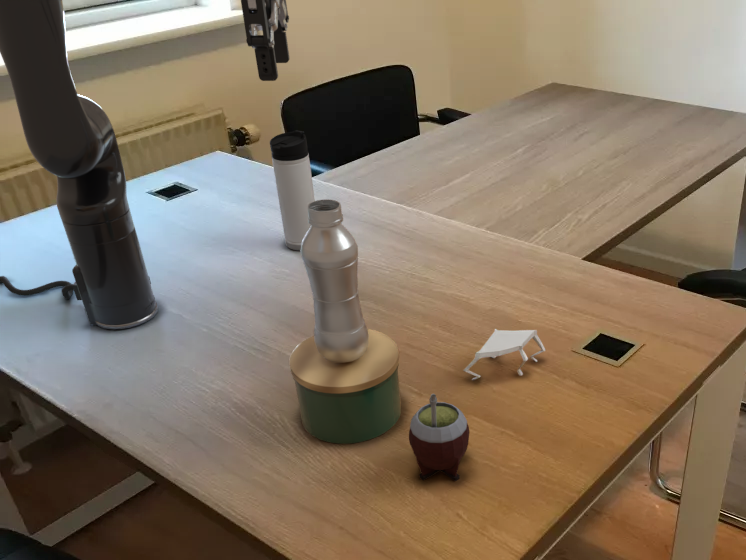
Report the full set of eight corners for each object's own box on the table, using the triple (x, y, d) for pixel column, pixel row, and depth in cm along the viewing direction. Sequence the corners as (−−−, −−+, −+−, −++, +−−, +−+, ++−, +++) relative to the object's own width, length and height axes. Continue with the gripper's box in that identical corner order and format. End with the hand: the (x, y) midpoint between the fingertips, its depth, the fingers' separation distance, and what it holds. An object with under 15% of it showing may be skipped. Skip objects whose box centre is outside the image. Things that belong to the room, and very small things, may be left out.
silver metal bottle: (360, 372, 98) (342, 219, 87) (308, 366, 99) (284, 214, 88) (377, 344, 103) (362, 196, 92) (327, 338, 104) (307, 192, 93)
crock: (291, 446, 101) (280, 388, 95) (307, 383, 112) (298, 328, 107) (400, 443, 101) (395, 385, 96) (405, 381, 112) (401, 326, 107)
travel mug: (328, 240, 149) (315, 133, 138) (303, 253, 145) (287, 144, 133) (304, 232, 152) (288, 127, 141) (278, 245, 148) (260, 137, 136)
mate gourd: (444, 441, 102) (439, 340, 93) (486, 471, 97) (485, 368, 88) (397, 467, 97) (387, 365, 89) (438, 501, 93) (432, 396, 84)
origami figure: (502, 342, 121) (502, 314, 118) (547, 361, 116) (549, 332, 114) (449, 378, 113) (448, 348, 110) (496, 400, 109) (495, 370, 106)
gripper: (234, -81, 99) (256, 57, 108) (205, -67, 87) (233, 86, 96) (295, -81, 99) (313, 57, 108) (275, -67, 87) (296, 86, 97)
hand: (275, 71), depth 102 cm, fingers open, 8 cm apart
